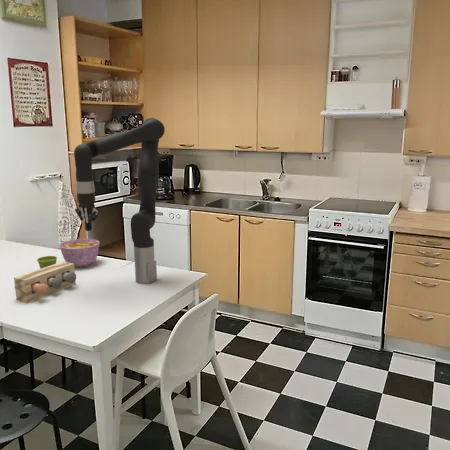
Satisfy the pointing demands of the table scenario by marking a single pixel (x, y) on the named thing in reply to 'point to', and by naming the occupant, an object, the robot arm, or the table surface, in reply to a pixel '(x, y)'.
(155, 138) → the robot arm
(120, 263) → the table surface
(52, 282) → the grey dowel
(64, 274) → the grey dowel
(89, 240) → the bowl of food
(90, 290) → the table surface
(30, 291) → the socket rail
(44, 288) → the dowel terracotta
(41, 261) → the plant pot
